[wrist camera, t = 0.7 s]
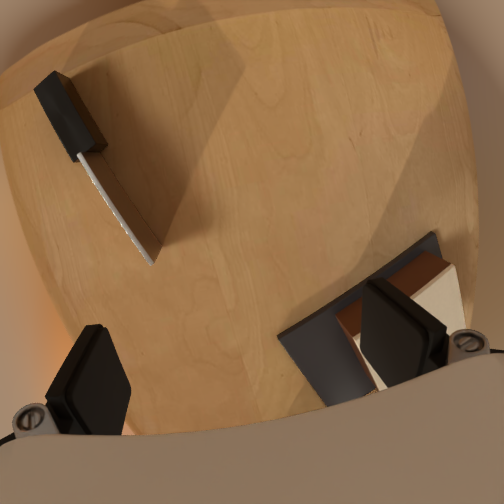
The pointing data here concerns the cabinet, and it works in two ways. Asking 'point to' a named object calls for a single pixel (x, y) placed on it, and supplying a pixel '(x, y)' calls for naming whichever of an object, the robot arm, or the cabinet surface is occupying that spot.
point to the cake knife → (92, 156)
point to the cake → (324, 320)
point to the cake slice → (357, 338)
